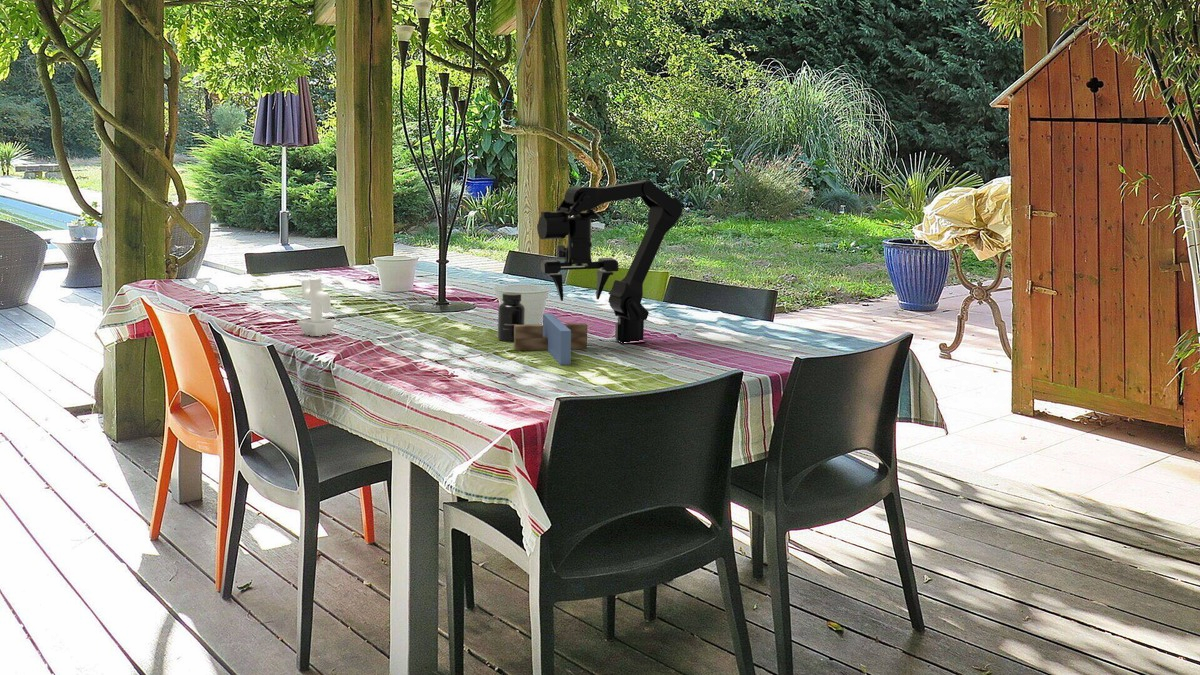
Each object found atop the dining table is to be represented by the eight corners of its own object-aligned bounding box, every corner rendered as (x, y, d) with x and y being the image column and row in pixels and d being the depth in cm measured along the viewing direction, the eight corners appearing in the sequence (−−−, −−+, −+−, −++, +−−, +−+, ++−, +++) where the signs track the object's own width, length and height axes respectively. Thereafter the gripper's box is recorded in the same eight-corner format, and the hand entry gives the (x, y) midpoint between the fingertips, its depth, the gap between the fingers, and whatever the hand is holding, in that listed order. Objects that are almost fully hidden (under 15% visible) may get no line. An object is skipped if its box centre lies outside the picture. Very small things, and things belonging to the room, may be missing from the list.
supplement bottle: (506, 343, 265) (506, 296, 263) (493, 338, 270) (493, 293, 268) (529, 340, 269) (529, 294, 267) (515, 336, 274) (515, 291, 272)
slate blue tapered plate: (542, 344, 263) (543, 313, 262) (552, 344, 264) (552, 313, 262) (560, 365, 240) (560, 331, 239) (570, 364, 241) (571, 330, 239)
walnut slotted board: (584, 346, 262) (585, 323, 261) (587, 348, 260) (587, 324, 259) (514, 348, 258) (514, 324, 257) (515, 350, 256) (515, 326, 255)
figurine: (318, 339, 265) (316, 280, 263) (294, 334, 271) (292, 277, 268) (340, 335, 271) (338, 277, 268) (316, 330, 277) (314, 274, 274)
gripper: (607, 233, 267) (607, 293, 270) (536, 235, 263) (537, 296, 266) (619, 238, 257) (618, 300, 260) (544, 239, 252) (545, 303, 255)
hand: (579, 299), depth 261 cm, fingers open, 9 cm apart
